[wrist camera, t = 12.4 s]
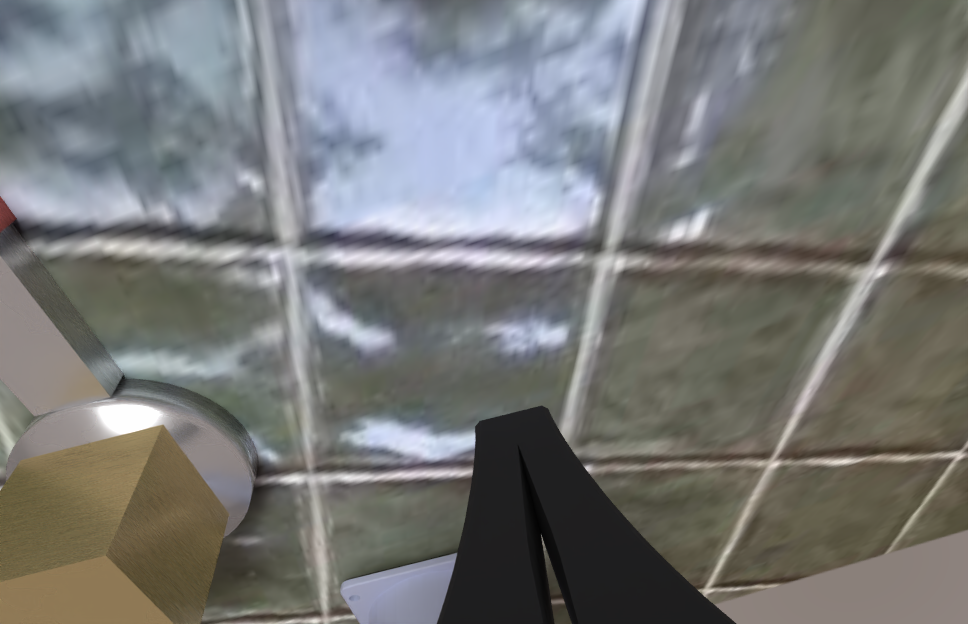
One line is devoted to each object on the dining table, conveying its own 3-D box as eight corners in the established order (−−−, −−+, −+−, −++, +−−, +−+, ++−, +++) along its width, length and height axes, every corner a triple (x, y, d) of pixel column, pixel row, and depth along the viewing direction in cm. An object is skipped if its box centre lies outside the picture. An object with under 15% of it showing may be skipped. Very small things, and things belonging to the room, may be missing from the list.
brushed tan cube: (229, 514, 23) (194, 644, 19) (104, 545, 23) (43, 682, 19) (163, 424, 20) (105, 555, 16) (20, 460, 20) (-73, 600, 16)
